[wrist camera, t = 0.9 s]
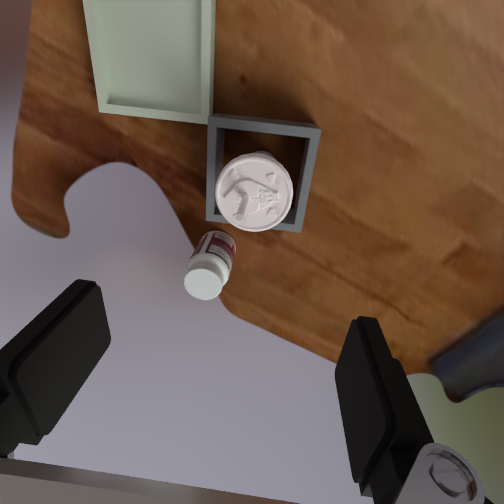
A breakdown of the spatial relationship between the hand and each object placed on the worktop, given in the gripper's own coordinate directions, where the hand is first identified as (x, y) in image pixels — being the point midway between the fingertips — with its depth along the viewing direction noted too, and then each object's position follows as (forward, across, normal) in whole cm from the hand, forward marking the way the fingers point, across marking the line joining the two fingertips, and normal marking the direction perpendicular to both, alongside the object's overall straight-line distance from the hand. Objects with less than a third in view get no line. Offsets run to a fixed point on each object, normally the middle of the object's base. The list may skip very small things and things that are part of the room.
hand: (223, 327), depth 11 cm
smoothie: (+24, 0, 0) cm, 24 cm away
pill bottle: (+24, +5, +10) cm, 27 cm away
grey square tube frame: (+24, 0, 0) cm, 24 cm away
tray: (+24, +11, -11) cm, 29 cm away
